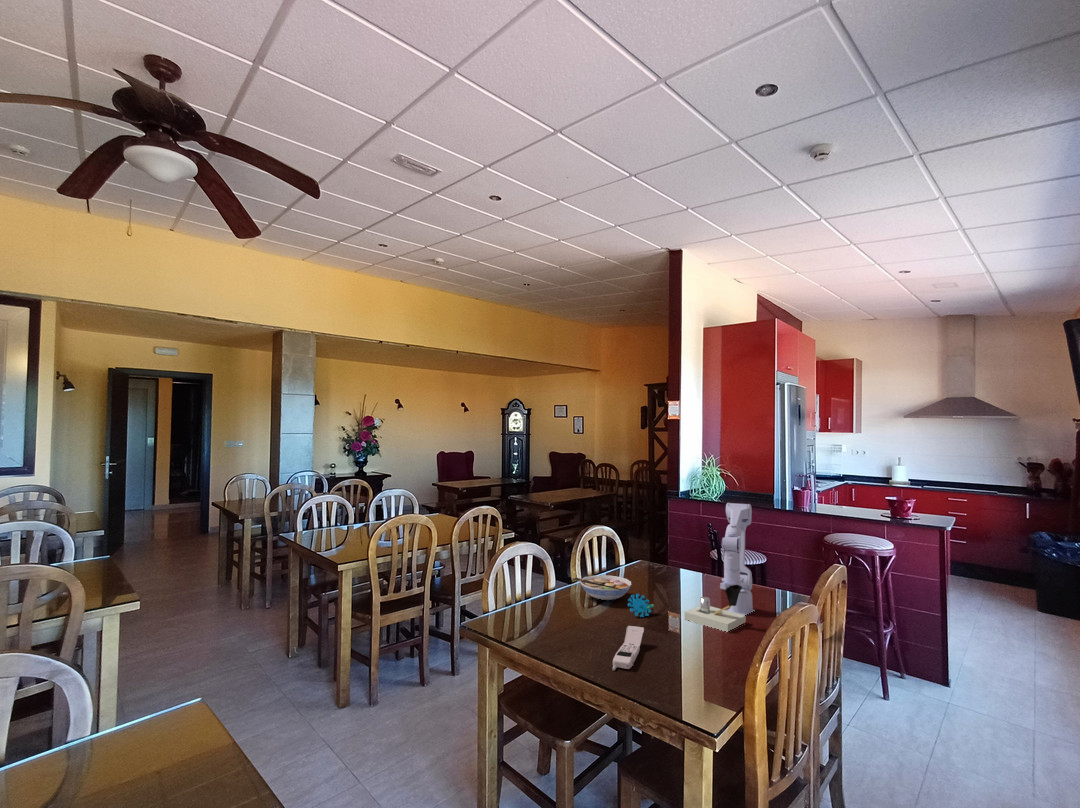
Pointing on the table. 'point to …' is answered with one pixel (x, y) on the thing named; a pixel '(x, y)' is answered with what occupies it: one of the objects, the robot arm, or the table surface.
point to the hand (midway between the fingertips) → (732, 605)
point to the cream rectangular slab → (715, 618)
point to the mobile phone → (628, 648)
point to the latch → (722, 609)
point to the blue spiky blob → (639, 605)
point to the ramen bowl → (605, 586)
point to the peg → (705, 605)
